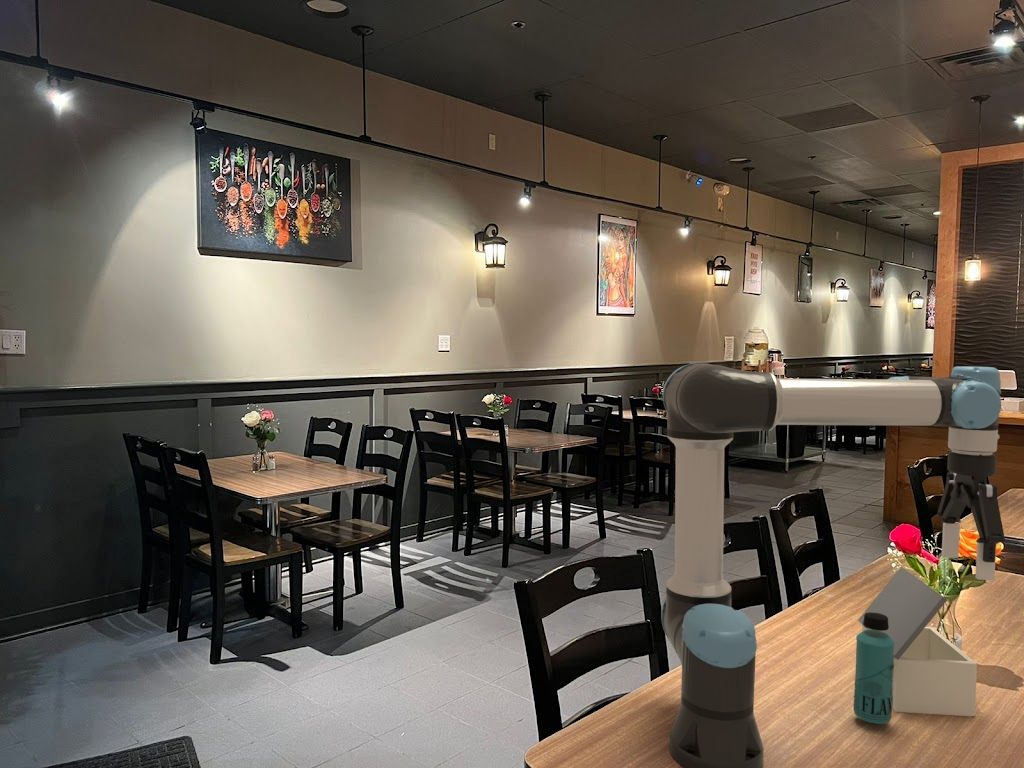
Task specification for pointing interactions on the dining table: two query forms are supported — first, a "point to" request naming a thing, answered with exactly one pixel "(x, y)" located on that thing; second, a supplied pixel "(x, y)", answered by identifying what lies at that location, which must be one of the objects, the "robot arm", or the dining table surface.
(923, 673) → the box
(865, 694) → the beverage bottle
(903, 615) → the lid
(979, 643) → the dining table surface
